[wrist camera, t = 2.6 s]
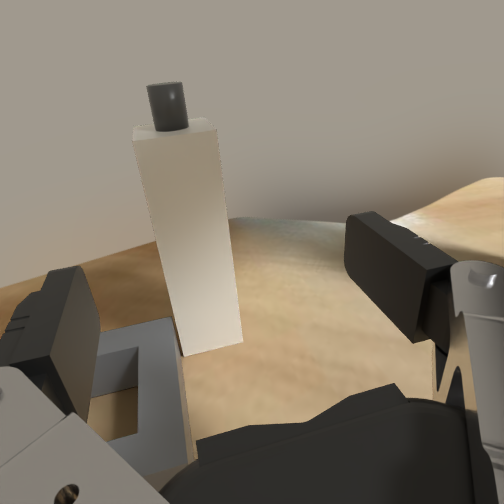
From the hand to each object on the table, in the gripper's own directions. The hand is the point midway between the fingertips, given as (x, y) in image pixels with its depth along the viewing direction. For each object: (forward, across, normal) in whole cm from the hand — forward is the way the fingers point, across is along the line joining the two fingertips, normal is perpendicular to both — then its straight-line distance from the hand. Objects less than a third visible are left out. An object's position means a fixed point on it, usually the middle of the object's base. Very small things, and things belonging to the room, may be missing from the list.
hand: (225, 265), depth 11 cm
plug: (+14, 0, +14) cm, 20 cm away
